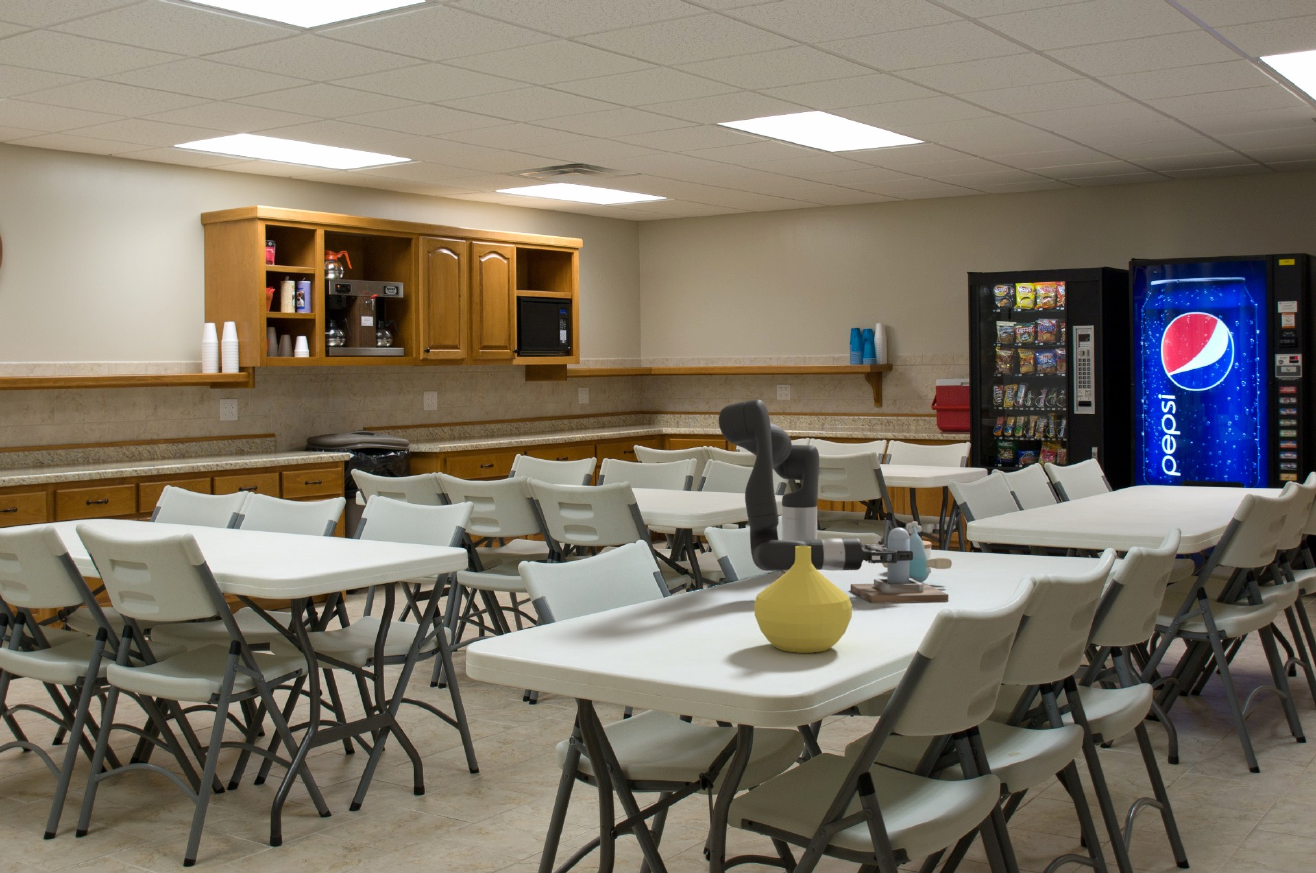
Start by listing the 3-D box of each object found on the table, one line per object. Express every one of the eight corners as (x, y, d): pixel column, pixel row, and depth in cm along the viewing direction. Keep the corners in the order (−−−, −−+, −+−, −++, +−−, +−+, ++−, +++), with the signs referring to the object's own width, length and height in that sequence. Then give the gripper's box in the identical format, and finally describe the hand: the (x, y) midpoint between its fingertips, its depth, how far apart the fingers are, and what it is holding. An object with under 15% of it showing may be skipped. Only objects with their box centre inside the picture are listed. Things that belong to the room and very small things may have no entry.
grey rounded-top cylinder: (884, 587, 293) (885, 526, 293) (904, 587, 294) (905, 526, 293) (891, 591, 288) (892, 529, 288) (911, 590, 289) (913, 528, 289)
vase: (855, 640, 242) (855, 542, 241) (847, 661, 224) (848, 555, 223) (761, 635, 246) (761, 539, 245) (747, 655, 228) (747, 551, 227)
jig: (850, 590, 299) (850, 576, 298) (922, 588, 301) (923, 575, 301) (871, 603, 282) (872, 588, 282) (948, 601, 284) (948, 586, 284)
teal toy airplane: (946, 580, 314) (947, 520, 313) (952, 587, 303) (952, 525, 303) (879, 579, 316) (879, 520, 315) (882, 586, 305) (883, 525, 304)
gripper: (847, 542, 282) (916, 540, 284) (830, 534, 296) (896, 533, 298) (847, 575, 282) (916, 573, 284) (830, 565, 296) (896, 564, 298)
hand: (906, 552), depth 291 cm, fingers open, 8 cm apart
